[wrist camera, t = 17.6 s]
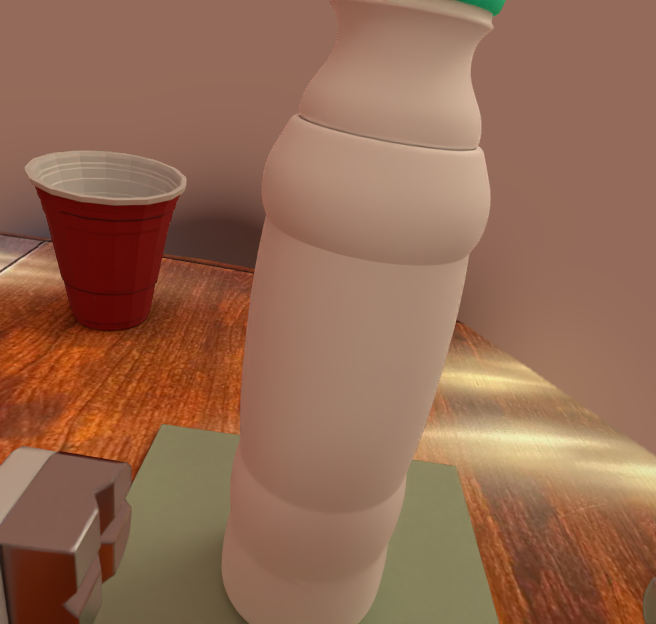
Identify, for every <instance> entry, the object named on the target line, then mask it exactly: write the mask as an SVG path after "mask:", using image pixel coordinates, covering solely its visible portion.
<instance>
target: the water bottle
mask: <svg viewBox="0 0 656 624" xmlns="http://www.w3.org/2000/svg"><path fill="white" fill-rule="evenodd" d="M330 3H331V4H332V6H333V8H334V10H335V12H336V15H337V19H338V33H337V39H336V43H335V46H334V48H333V50H332V52H331V54H330V56H329V58H328V59H327V60H326V62H325V63H324V64H323V66H322V67H321V68H320V70H319V71H318V72H317V73H316V74H315V76H314V77H313V78H312V80H311V81H310V83H309V84H308V86H307V87H306V89H305V91H304V94H303V96H302V99H301V102H300V108H299V113H298V114H295V115H293V116H292V117H291V119H290V120H289V122H288V123H287V125H286V127H285V128H284V129H283V131H282V133H281V134H280V136H279V138H278V139H277V141H276V142H275V144H274V146H273V148H272V150H271V152H270V154H269V156H268V158H267V161H266V164H265V168H264V173H263V179H262V200H263V205H264V209H265V212H266V218H265V223H264V227H263V231H262V236H261V240H260V245H259V250H258V256H257V261H256V267H255V272H254V279H253V285H252V292H251V299H250V307H249V314H248V323H247V332H246V340H245V351H244V361H243V372H242V385H241V403H240V440H239V443H238V446H237V449H236V452H235V456H234V460H233V465H232V472H231V481H230V506H231V510H230V513H229V517H228V520H227V525H226V530H225V535H224V542H223V549H222V563H221V569H222V578H223V583H224V587H225V590H226V592H227V595H228V597H229V599H230V601H231V603H232V604H233V606H234V607H235V609H236V610H237V612H238V613H239V614H240V615H241V616H242V617H243V618H244V619H245V620H246V621H247V622H248V623H249V624H358V623H359V622H360V621H361V620H362V619H363V618H364V617H365V615H366V614H367V612H368V611H369V609H370V608H371V606H372V604H373V602H374V600H375V597H376V595H377V592H378V589H379V585H380V582H381V578H382V574H383V570H384V566H385V561H386V555H387V547H388V542H389V540H390V538H391V536H392V534H393V532H394V529H395V527H396V524H397V522H398V519H399V516H400V512H401V509H402V505H403V500H404V496H405V489H406V473H407V471H408V469H409V466H410V464H411V462H412V460H413V457H414V455H415V452H416V450H417V447H418V445H419V442H420V439H421V436H422V433H423V431H424V428H425V425H426V422H427V419H428V416H429V413H430V410H431V407H432V404H433V400H434V397H435V394H436V391H437V387H438V384H439V381H440V377H441V374H442V370H443V367H444V363H445V360H446V356H447V353H448V349H449V345H450V342H451V338H452V334H453V330H454V327H455V323H456V318H457V314H458V310H459V305H460V301H461V296H462V291H463V287H464V281H465V276H466V270H467V264H468V258H469V253H470V252H471V251H472V250H473V249H474V247H475V246H476V245H477V243H478V242H479V240H480V238H481V236H482V234H483V232H484V230H485V227H486V223H487V220H488V216H489V211H490V186H489V180H488V174H487V168H486V162H485V157H484V153H483V151H482V149H481V148H480V147H478V144H479V141H480V137H481V116H480V112H479V108H478V104H477V101H476V98H475V94H474V91H473V87H472V83H471V74H470V70H471V61H472V57H473V53H474V51H475V48H476V46H477V45H478V43H479V42H480V40H481V39H482V38H483V37H484V36H485V35H486V34H487V33H489V32H490V31H492V30H493V29H494V26H493V25H492V22H491V21H492V17H493V16H495V15H497V14H499V12H500V11H501V9H502V7H503V5H504V3H505V0H330Z"/></svg>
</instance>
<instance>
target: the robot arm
mask: <svg viewBox="0 0 656 624" xmlns="http://www.w3.org/2000/svg"><path fill="white" fill-rule="evenodd" d="M131 484H132V478H131V466H130V465H129V464H128V463H127V462H121V461H115V460H109V459H103V458H97V457H91V456H85V455H79V454H73V453H67V452H61V451H58V452H56V451H50V450H44V449H38V448H33V447H27V446H22V447H20V448H18V449H16V450H14V451H13V452H11V453H10V455H9V456H8V457H7V458H6V459H5V460H4V462H3V463H2V464H1V465H0V624H93V623H94V621H95V619H96V616H97V614H98V612H99V610H100V608H101V605H102V584H103V583H105V582H106V581H107V580H109V579H110V578H112V577H113V576H114V575H115V574H116V572H117V569H118V567H119V565H120V562H121V560H122V558H123V555H124V551H125V548H126V544H127V541H128V537H129V533H130V526H131V514H132V507H131V506H130V504H129V503H128V502H127V501H126V499H125V496H126V494H127V492H128V490H129V488H130V486H131ZM643 616H644V619H645V623H646V624H656V577H654V578H653V579H651V581H650V583H649V585H648V587H647V589H646V591H645V593H644V595H643Z"/></svg>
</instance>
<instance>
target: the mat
mask: <svg viewBox="0 0 656 624" xmlns="http://www.w3.org/2000/svg"><path fill="white" fill-rule="evenodd" d="M239 440H240V435H235V434H228V433H221V432H214V431H207V430H200V429H193V428H186V427H179V426H172V425H165V424H162V425H161V427H160V429H159V431H158V433H157V435H156V437H155V439H154V441H153V443H152V445H151V447H150V449H149V451H148V453H147V455H146V457H145V459H144V461H143V463H142V465H141V467H140V469H139V471H138V473H137V475H136V477H135V479H134V481H133V483H132V485H131V487H130V489H129V491H128V493H127V495H126V497H125V499H126V501H127V502H128V503H129V504H130V506H131V507H132V514H131V526H130V533H129V537H128V541H127V544H126V548H125V551H124V555H123V558H122V560H121V562H120V565H119V567H118V569H117V572H116V574H115V575H114V576H113V577H112V578H110V579H109V580H107V581H106V582H105V583H103V584H102V605H101V608H100V610H99V612H98V614H97V616H96V619H95V621H94V623H93V624H249V623H248V622H247V621H246V620H245V619H244V618H243V617H242V616H241V615H240V614H239V613H238V612H237V610H236V609H235V607H234V606H233V604H232V603H231V601H230V599H229V597H228V595H227V592H226V590H225V587H224V583H223V578H222V569H221V563H222V549H223V542H224V535H225V530H226V525H227V520H228V517H229V513H230V510H231V506H230V481H231V472H232V465H233V460H234V456H235V452H236V449H237V446H238V443H239ZM358 624H499V622H498V618H497V614H496V611H495V607H494V603H493V600H492V596H491V593H490V589H489V585H488V582H487V578H486V574H485V571H484V567H483V563H482V560H481V556H480V553H479V549H478V545H477V542H476V538H475V534H474V531H473V527H472V523H471V520H470V516H469V513H468V509H467V505H466V502H465V498H464V494H463V491H462V487H461V483H460V480H459V476H458V472H457V469H456V466H452V465H445V464H438V463H431V462H424V461H417V460H412V462H411V464H410V466H409V469H408V471H407V473H406V489H405V496H404V500H403V505H402V509H401V512H400V516H399V519H398V522H397V524H396V527H395V529H394V532H393V534H392V536H391V538H390V540H389V542H388V547H387V555H386V561H385V566H384V570H383V574H382V578H381V582H380V585H379V589H378V592H377V595H376V597H375V600H374V602H373V604H372V606H371V608H370V609H369V611H368V612H367V614H366V615H365V617H364V618H363V619H362V620H361V621H360V622H359V623H358Z"/></svg>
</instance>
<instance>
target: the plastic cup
mask: <svg viewBox="0 0 656 624" xmlns="http://www.w3.org/2000/svg"><path fill="white" fill-rule="evenodd" d="M24 169H25V171H26V174H27V176H28V178H29V180H30V181H31V183H32V185H34V186H35V187H36V190H37V194H38V196H39V198H40V200H41V204H42V207H43V210H44V212H45V214H46V218H47V222H48V226H49V230H50V234H51V238H52V242H53V246H54V250H55V253H56V257H57V261H58V265H59V269H60V273H61V277H62V279H63V281H64V283H65V288H66V292H67V296H68V300H69V304H70V308H71V310H72V312H73V315H74V317H75V319H76V321H77V322H79V323H80V324H82V325H84V326H86V327H90V328H94V329H98V330H120V329H127V328H131V327H134V326H136V325H139V324H141V323H142V322H143V321H145V320H146V319H147V317H148V313H149V312H150V308H151V303H152V298H153V293H154V287H155V283H157V279H158V274H159V270H160V265H161V260H162V255H163V251H164V246H165V241H166V236H167V232H168V227H169V222H171V218H172V214H173V210H174V209H175V206H176V202H177V200H178V198H179V196H180V194H182V193H183V192H184V190H185V188H186V177H185V176H184V175H183V174H181V173H180V172H179V171H178V170H177V169H175V168H173V167H171V166H168V165H166V164H164V163H161V162H159V161H156V160H152V159H148V158H143V157H140V156H135V155H129V154H122V153H115V152H107V151H68V152H57V153H50V154H47V155H44V156H40V157H37V158H34V159H32V160H31V161H30V162H29V163H28V164H27V165H26V166H25V168H24Z"/></svg>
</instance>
